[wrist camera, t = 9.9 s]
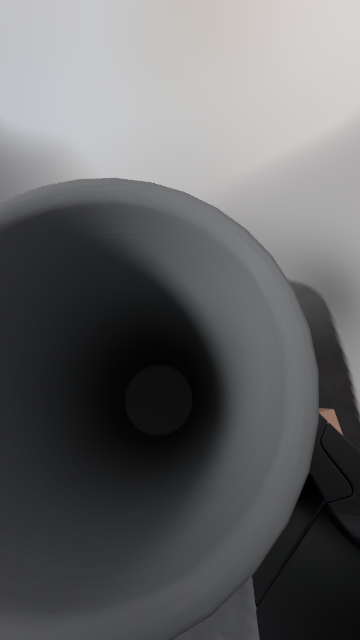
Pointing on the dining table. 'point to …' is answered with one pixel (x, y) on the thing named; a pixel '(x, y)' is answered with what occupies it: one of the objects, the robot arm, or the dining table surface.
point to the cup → (142, 410)
